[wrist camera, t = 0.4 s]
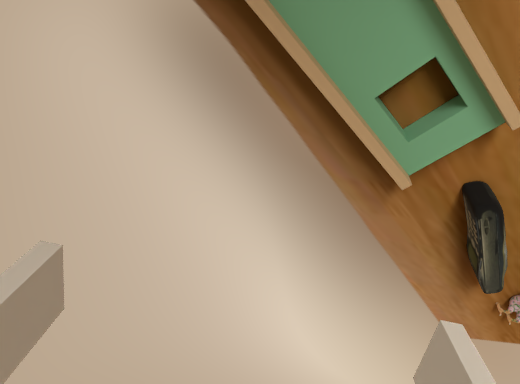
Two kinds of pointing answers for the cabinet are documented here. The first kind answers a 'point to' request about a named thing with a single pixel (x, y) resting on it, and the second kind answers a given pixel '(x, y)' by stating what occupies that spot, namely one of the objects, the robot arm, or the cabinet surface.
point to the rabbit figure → (512, 309)
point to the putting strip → (393, 71)
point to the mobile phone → (485, 236)
